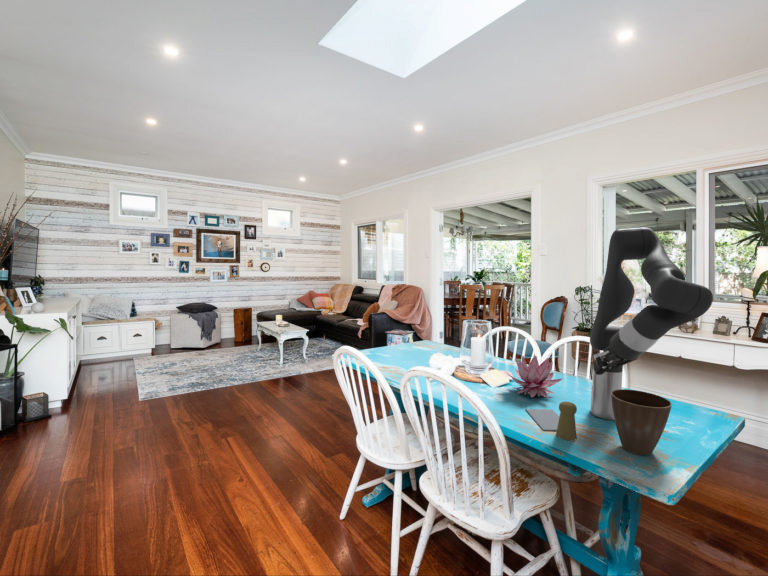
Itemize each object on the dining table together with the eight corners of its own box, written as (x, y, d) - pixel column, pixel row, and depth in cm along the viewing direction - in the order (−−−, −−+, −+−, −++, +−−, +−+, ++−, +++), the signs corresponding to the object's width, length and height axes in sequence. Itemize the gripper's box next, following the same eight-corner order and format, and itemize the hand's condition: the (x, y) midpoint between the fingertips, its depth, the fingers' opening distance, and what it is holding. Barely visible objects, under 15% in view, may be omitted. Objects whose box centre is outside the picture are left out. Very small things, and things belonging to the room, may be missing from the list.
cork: (574, 433, 123) (576, 400, 123) (578, 441, 118) (580, 407, 117) (554, 430, 125) (556, 398, 124) (557, 439, 119) (559, 405, 118)
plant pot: (643, 437, 121) (646, 389, 120) (681, 462, 106) (685, 407, 105) (598, 437, 120) (600, 389, 119) (629, 462, 105) (633, 407, 104)
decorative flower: (497, 394, 159) (498, 359, 158) (518, 382, 175) (519, 350, 174) (550, 407, 145) (551, 369, 144) (567, 393, 161) (568, 359, 160)
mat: (525, 409, 142) (525, 408, 142) (552, 410, 142) (552, 409, 142) (543, 430, 125) (543, 429, 125) (573, 431, 125) (573, 430, 125)
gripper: (649, 325, 99) (610, 359, 111) (604, 326, 96) (570, 361, 109) (666, 350, 94) (624, 382, 107) (619, 351, 91) (582, 384, 104)
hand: (597, 371), depth 108 cm, fingers closed
